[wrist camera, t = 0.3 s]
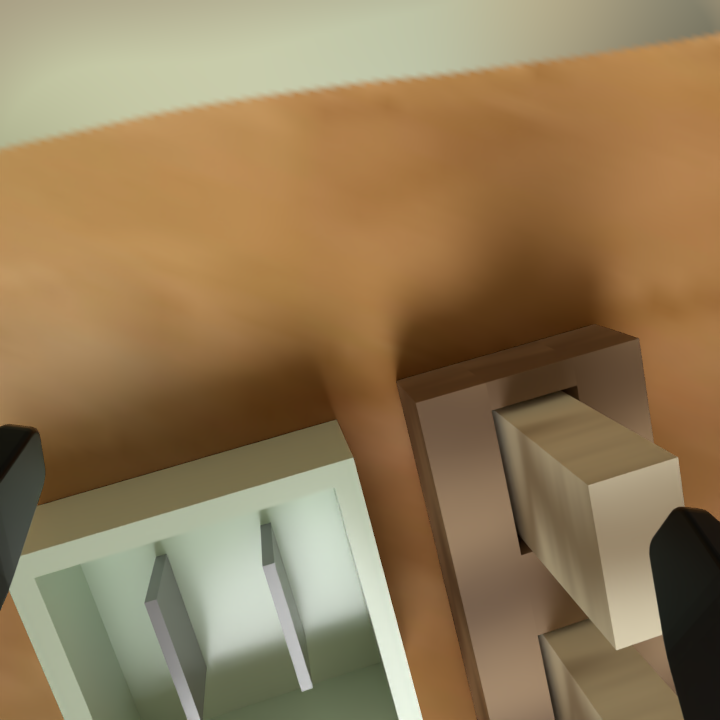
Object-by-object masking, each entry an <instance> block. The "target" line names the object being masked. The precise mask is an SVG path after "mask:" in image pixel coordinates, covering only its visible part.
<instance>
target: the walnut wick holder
mask: <svg viewBox="0 0 720 720" xmlns="http://www.w3.org/2000/svg"><path fill="white" fill-rule="evenodd" d="M396 383H397V387H398V391H399V395H400V399H401V403H402V408H403V412H404V416H405V420H406V424H407V428H408V433H409V437H410V441H411V445H412V449H413V453H414V458H415V462H416V466H417V470H418V474H419V478H420V483H421V487H422V491H423V495H424V499H425V503H426V508H427V512H428V516H429V520H430V524H431V528H432V533H433V537H434V541H435V545H436V549H437V553H438V558H439V562H440V566H441V570H442V574H443V579H444V583H445V587H446V591H447V595H448V599H449V604H450V608H451V612H452V616H453V620H454V624H455V629H456V633H457V637H458V641H459V645H460V649H461V654H462V658H463V662H464V666H465V670H466V674H467V679H468V683H469V687H470V691H471V695H472V699H473V704H474V708H475V712H476V716H477V720H555V718H554V713H553V708H552V703H551V698H550V694H549V689H548V684H547V679H546V674H545V669H544V664H543V659H542V654H541V650H540V645H539V640H538V635H541V634H544V633H547V632H550V631H553V630H556V629H559V628H562V627H565V626H568V625H571V624H574V623H577V622H580V621H583V620H586V619H589V617H588V616H587V615H586V614H585V613H584V612H583V610H582V609H581V608H580V607H579V606H578V604H577V603H576V602H575V601H574V600H573V599H572V597H571V596H570V595H569V594H568V593H567V591H566V590H565V589H564V588H563V587H562V586H561V584H560V583H559V582H558V581H557V580H556V578H555V577H554V576H553V575H552V574H551V573H550V571H549V570H548V569H547V568H546V567H545V565H544V564H543V563H542V562H541V561H540V560H539V558H538V557H537V556H536V555H535V554H534V552H533V551H532V550H531V549H530V548H529V547H528V545H527V544H526V543H525V542H524V541H523V539H522V538H521V537H520V536H519V535H518V534H517V532H516V527H515V523H514V518H513V513H512V508H511V503H510V498H509V493H508V488H507V483H506V479H505V474H504V469H503V464H502V459H501V454H500V449H499V444H498V440H497V435H496V430H495V425H494V420H493V415H492V410H495V409H499V408H502V407H505V406H509V405H512V404H516V403H519V402H522V401H526V400H529V399H533V398H536V397H539V396H543V395H546V394H549V393H553V392H556V391H560V390H561V391H563V392H564V393H566V394H568V395H570V396H571V397H573V398H575V399H577V400H578V401H580V402H582V403H584V404H585V405H587V406H589V407H591V408H592V409H594V410H596V411H598V412H599V413H601V414H603V415H605V416H606V417H608V418H610V419H612V420H613V421H615V422H617V423H619V424H620V425H622V426H624V427H626V428H628V429H629V430H631V431H633V432H635V433H636V434H638V435H640V436H642V437H643V438H645V439H647V440H649V441H650V442H652V443H654V441H653V434H652V427H651V420H650V413H649V406H648V399H647V392H646V384H645V377H644V370H643V363H642V356H641V349H640V342H639V338H636V337H633V336H630V335H627V334H624V333H621V332H618V331H615V330H612V329H609V328H606V327H603V326H599V325H596V324H594V325H590V326H587V327H583V328H580V329H576V330H573V331H569V332H566V333H562V334H559V335H555V336H552V337H548V338H545V339H541V340H538V341H534V342H531V343H527V344H524V345H520V346H517V347H513V348H510V349H506V350H503V351H499V352H496V353H492V354H489V355H485V356H482V357H478V358H475V359H471V360H468V361H464V362H461V363H457V364H454V365H450V366H447V367H443V368H440V369H436V370H433V371H429V372H426V373H422V374H419V375H415V376H412V377H408V378H405V379H401V380H398V381H396ZM632 646H633V647H634V648H635V649H636V650H637V651H638V652H639V654H640V655H641V656H642V657H643V658H644V659H645V660H646V661H647V663H648V664H649V665H650V666H651V667H652V668H653V669H654V670H655V672H656V673H657V674H658V675H659V676H660V677H661V678H662V679H663V680H664V682H665V683H666V684H667V685H668V686H669V687H670V688H671V689H672V691H673V692H674V693H675V694H676V695H677V693H676V689H675V686H674V682H673V678H672V675H671V671H670V667H669V663H668V659H667V655H666V651H665V646H664V641H663V635H660V636H657V637H654V638H651V639H648V640H645V641H642V642H639V643H636V644H634V645H632Z"/></svg>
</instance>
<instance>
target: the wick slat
mask: <svg viewBox="0 0 720 720" xmlns="http://www.w3.org/2000/svg"><path fill="white" fill-rule="evenodd" d="M538 640H539V645H540V650H541V654H542V659H543V664H544V669H545V674H546V679H547V684H548V689H549V694H550V698H551V703H552V708H553V713H554V718H555V720H684V718H683V715H682V711H681V707H680V704H679V700H678V697H677V695H676V694H675V693H674V692H673V691H672V689H671V688H670V687H669V686H668V685H667V684H666V683H665V682H664V680H663V679H662V678H661V677H660V676H659V675H658V674H657V673H656V672H655V670H654V669H653V668H652V667H651V666H650V665H649V664H648V663H647V661H646V660H645V659H644V658H643V657H642V656H641V655H640V654H639V652H638V651H637V650H636V649H635V648H634V647H633V646H632V645H631V646H628V647H625V648H622V649H619V650H616V649H615V648H614V647H613V646H612V645H611V643H610V642H609V641H608V640H607V639H606V638H605V636H604V635H603V634H602V633H601V632H600V630H599V629H598V628H597V627H596V626H595V625H594V623H593V622H592V621H591V620H590V619H586V620H583V621H580V622H577V623H574V624H571V625H568V626H565V627H562V628H559V629H556V630H553V631H550V632H547V633H544V634H541V635H538Z"/></svg>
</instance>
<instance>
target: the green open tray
mask: <svg viewBox="0 0 720 720" xmlns="http://www.w3.org/2000/svg"><path fill="white" fill-rule="evenodd" d="M9 591H10V594H11V596H12V598H13V601H14V603H15V605H16V608H17V610H18V612H19V615H20V617H21V619H22V622H23V624H24V627H25V629H26V631H27V634H28V636H29V638H30V641H31V643H32V645H33V648H34V650H35V652H36V655H37V657H38V659H39V662H40V664H41V666H42V669H43V671H44V673H45V676H46V678H47V680H48V683H49V685H50V687H51V690H52V692H53V694H54V697H55V699H56V701H57V704H58V706H59V708H60V711H61V713H62V716H63V718H64V720H423V719H422V715H421V711H420V708H419V704H418V700H417V696H416V693H415V689H414V685H413V681H412V677H411V674H410V670H409V666H408V662H407V659H406V655H405V651H404V647H403V643H402V640H401V636H400V632H399V628H398V625H397V621H396V617H395V613H394V609H393V606H392V602H391V598H390V594H389V591H388V587H387V583H386V579H385V575H384V572H383V568H382V564H381V560H380V557H379V553H378V549H377V545H376V541H375V538H374V534H373V530H372V526H371V522H370V519H369V515H368V511H367V507H366V504H365V500H364V496H363V492H362V488H361V485H360V481H359V477H358V473H357V470H356V466H355V462H354V458H353V456H352V453H351V451H350V449H349V447H348V444H347V442H346V440H345V438H344V435H343V433H342V431H341V428H340V426H339V424H338V422H337V419H336V420H333V421H329V422H326V423H323V424H319V425H316V426H312V427H309V428H305V429H302V430H298V431H295V432H291V433H288V434H285V435H281V436H278V437H274V438H271V439H267V440H264V441H260V442H257V443H253V444H250V445H246V446H243V447H240V448H236V449H233V450H229V451H226V452H222V453H219V454H215V455H212V456H208V457H205V458H201V459H198V460H195V461H191V462H188V463H184V464H181V465H177V466H174V467H170V468H167V469H163V470H160V471H156V472H153V473H150V474H146V475H143V476H139V477H136V478H132V479H129V480H125V481H122V482H118V483H115V484H112V485H108V486H105V487H101V488H98V489H94V490H91V491H87V492H84V493H80V494H77V495H73V496H70V497H67V498H63V499H60V500H56V501H53V502H49V503H46V504H42V505H39V506H37V507H36V510H35V513H34V516H33V519H32V522H31V525H30V528H29V531H28V534H27V537H26V540H25V543H24V547H23V550H22V553H21V556H20V559H19V562H18V565H17V568H16V571H15V574H14V577H13V580H12V583H11V586H10V588H9Z"/></svg>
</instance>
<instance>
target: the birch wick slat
mask: <svg viewBox="0 0 720 720" xmlns="http://www.w3.org/2000/svg"><path fill="white" fill-rule="evenodd" d="M492 415H493V420H494V425H495V430H496V435H497V440H498V444H499V449H500V454H501V459H502V464H503V469H504V474H505V479H506V483H507V488H508V493H509V498H510V503H511V508H512V513H513V518H514V523H515V527H516V532H517V534H518V535H519V536H520V537H521V538H522V539H523V541H524V542H525V543H526V544H527V545H528V547H529V548H530V549H531V550H532V551H533V552H534V554H535V555H536V556H537V557H538V558H539V560H540V561H541V562H542V563H543V564H544V565H545V567H546V568H547V569H548V570H549V571H550V573H551V574H552V575H553V576H554V577H555V578H556V580H557V581H558V582H559V583H560V584H561V586H562V587H563V588H564V589H565V590H566V591H567V593H568V594H569V595H570V596H571V597H572V599H573V600H574V601H575V602H576V603H577V604H578V606H579V607H580V608H581V609H582V610H583V612H584V613H585V614H586V615H587V616H588V617H589V619H590V620H591V621H592V622H593V623H594V625H595V626H596V627H597V628H598V629H599V630H600V632H601V633H602V634H603V635H604V636H605V638H606V639H607V640H608V641H609V642H610V643H611V645H612V646H613V647H614V648H615V649H616V650H619V649H622V648H625V647H628V646H631V645H634V644H636V643H639V642H642V641H645V640H648V639H651V638H654V637H657V636H660V635H662V629H661V623H660V617H659V611H658V605H657V599H656V593H655V587H654V582H653V576H652V570H651V564H650V558H649V547H650V543H651V540H652V538H653V536H654V535H655V534H656V532H657V531H658V529H659V528H660V527H661V525H662V524H663V522H664V521H665V520H666V518H667V517H668V515H669V514H670V513H671V511H672V510H673V509H675V508H677V507H681V506H682V507H685V506H684V499H683V491H682V484H681V476H680V469H679V461H678V457H677V456H675V455H673V454H671V453H670V452H668V451H666V450H664V449H663V448H661V447H659V446H657V445H656V444H654V443H652V442H650V441H649V440H647V439H645V438H643V437H642V436H640V435H638V434H636V433H635V432H633V431H631V430H629V429H628V428H626V427H624V426H622V425H620V424H619V423H617V422H615V421H613V420H612V419H610V418H608V417H606V416H605V415H603V414H601V413H599V412H598V411H596V410H594V409H592V408H591V407H589V406H587V405H585V404H584V403H582V402H580V401H578V400H577V399H575V398H573V397H571V396H570V395H568V394H566V393H564V392H563V391H561V390H560V391H556V392H553V393H549V394H546V395H543V396H539V397H536V398H533V399H529V400H526V401H522V402H519V403H516V404H512V405H509V406H505V407H502V408H499V409H495V410H492Z"/></svg>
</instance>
